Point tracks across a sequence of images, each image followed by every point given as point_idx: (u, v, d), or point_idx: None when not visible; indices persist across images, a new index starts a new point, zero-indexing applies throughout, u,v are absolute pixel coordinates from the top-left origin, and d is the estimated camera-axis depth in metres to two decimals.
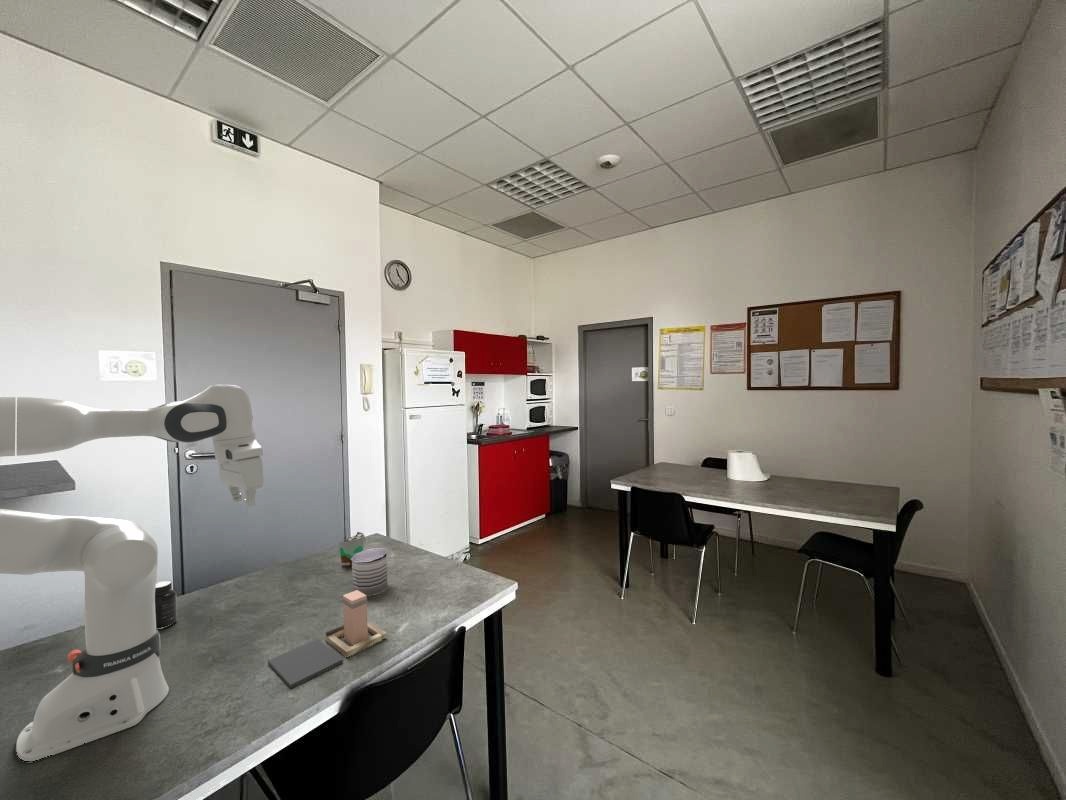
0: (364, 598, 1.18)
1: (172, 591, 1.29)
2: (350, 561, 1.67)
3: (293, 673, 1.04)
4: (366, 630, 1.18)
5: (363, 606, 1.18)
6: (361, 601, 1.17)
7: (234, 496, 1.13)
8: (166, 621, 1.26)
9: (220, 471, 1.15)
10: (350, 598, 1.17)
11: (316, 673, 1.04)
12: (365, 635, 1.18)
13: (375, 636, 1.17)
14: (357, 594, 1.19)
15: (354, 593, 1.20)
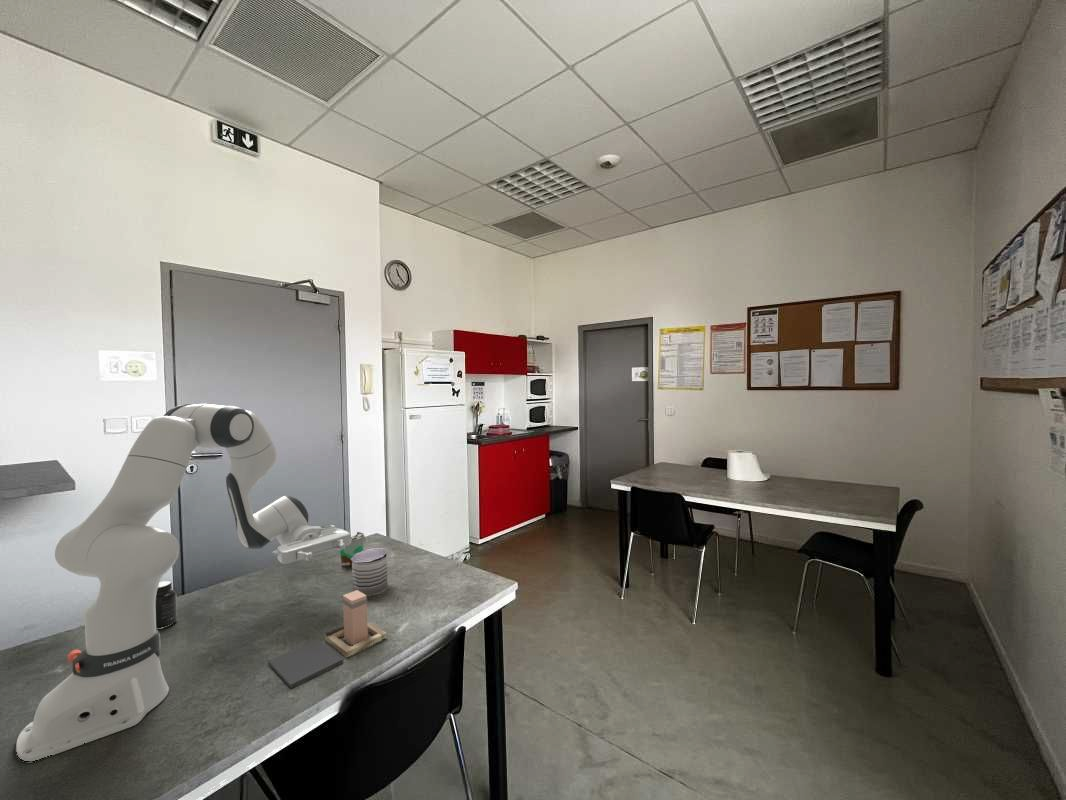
0: (364, 598, 1.18)
1: (172, 591, 1.29)
2: (350, 561, 1.67)
3: (293, 673, 1.04)
4: (366, 630, 1.18)
5: (363, 606, 1.18)
6: (361, 601, 1.17)
7: None
8: (166, 621, 1.26)
9: (285, 548, 1.28)
10: (350, 598, 1.17)
11: (316, 673, 1.04)
12: (365, 635, 1.18)
13: (375, 636, 1.17)
14: (357, 594, 1.19)
15: (354, 593, 1.20)
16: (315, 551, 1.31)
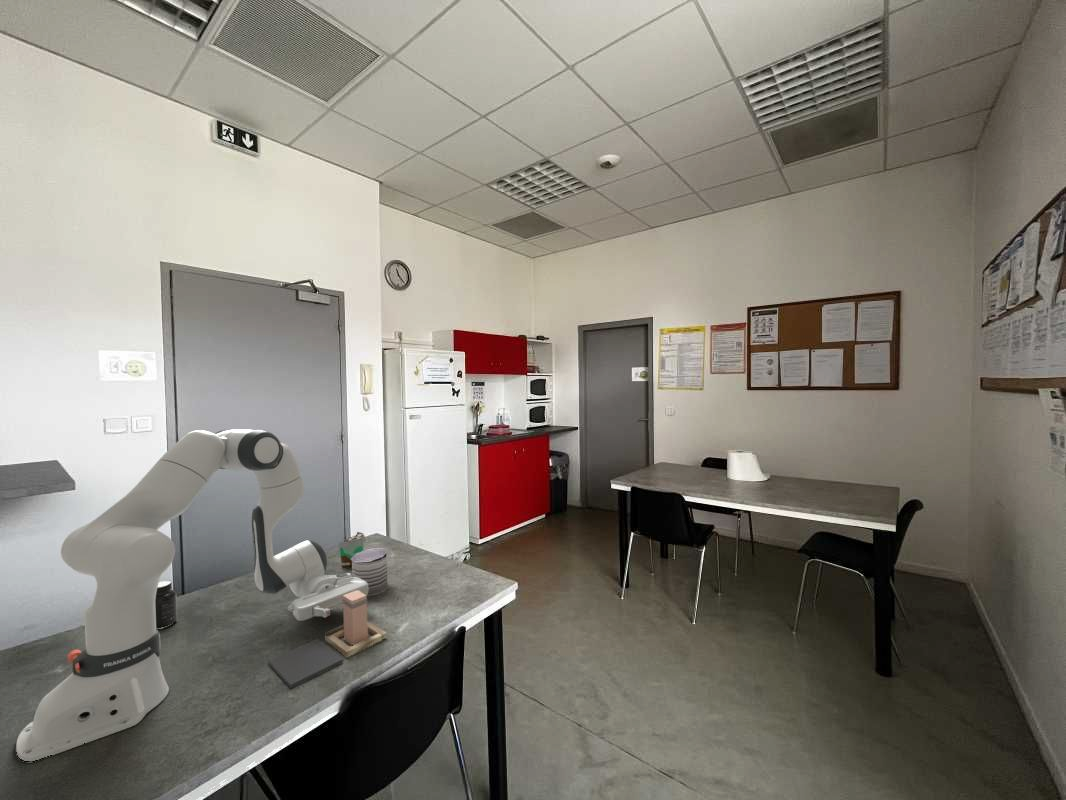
0: (364, 598, 1.18)
1: (172, 591, 1.29)
2: (350, 561, 1.67)
3: (293, 673, 1.04)
4: (366, 630, 1.18)
5: (363, 606, 1.18)
6: (361, 601, 1.17)
7: None
8: (166, 621, 1.26)
9: (301, 603, 1.21)
10: (350, 598, 1.17)
11: (316, 673, 1.04)
12: (365, 635, 1.18)
13: (375, 636, 1.17)
14: (357, 594, 1.19)
15: (354, 593, 1.20)
16: (332, 605, 1.25)
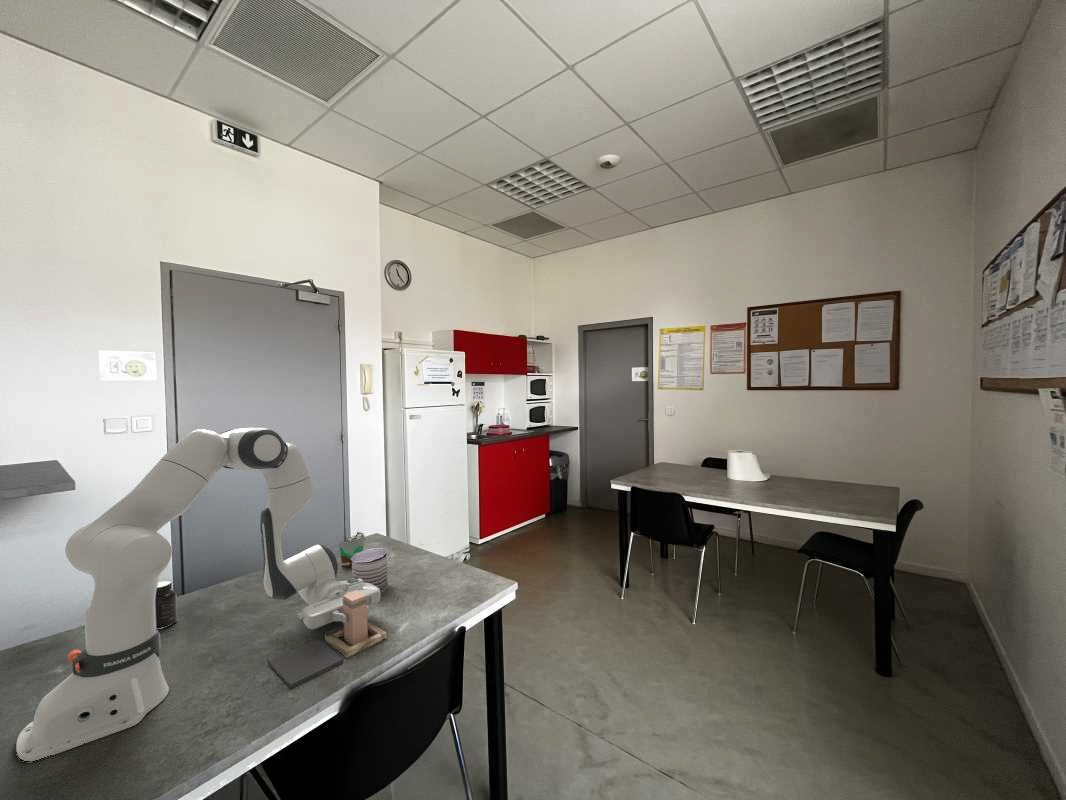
0: (364, 598, 1.18)
1: (172, 591, 1.29)
2: (350, 561, 1.67)
3: (293, 673, 1.04)
4: (366, 630, 1.18)
5: (363, 606, 1.18)
6: (361, 601, 1.17)
7: None
8: (166, 621, 1.26)
9: (312, 610, 1.17)
10: (350, 598, 1.17)
11: (316, 673, 1.04)
12: (365, 635, 1.18)
13: (375, 636, 1.17)
14: (357, 594, 1.19)
15: (354, 593, 1.19)
16: None
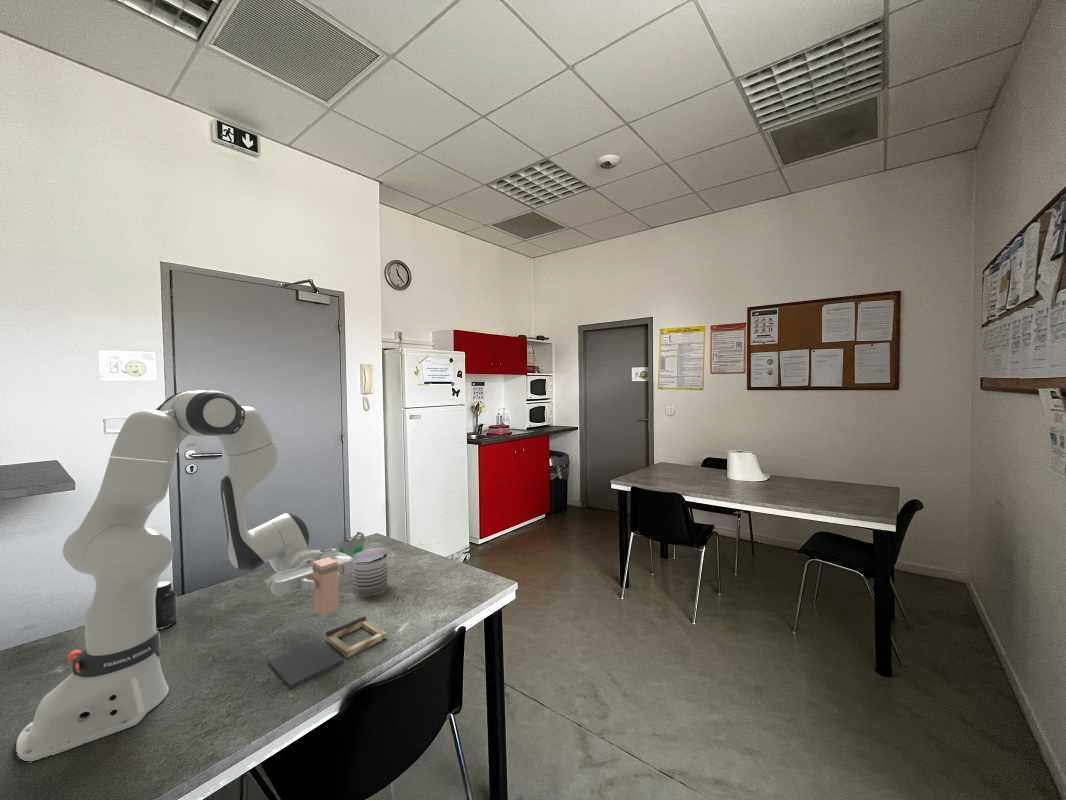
0: (335, 564, 1.12)
1: (172, 591, 1.29)
2: None
3: (293, 673, 1.04)
4: (336, 599, 1.12)
5: (334, 573, 1.11)
6: (331, 568, 1.11)
7: None
8: (166, 621, 1.26)
9: (279, 577, 1.11)
10: (320, 564, 1.11)
11: (316, 673, 1.04)
12: (335, 603, 1.12)
13: (375, 636, 1.17)
14: (328, 560, 1.13)
15: (325, 560, 1.13)
16: None
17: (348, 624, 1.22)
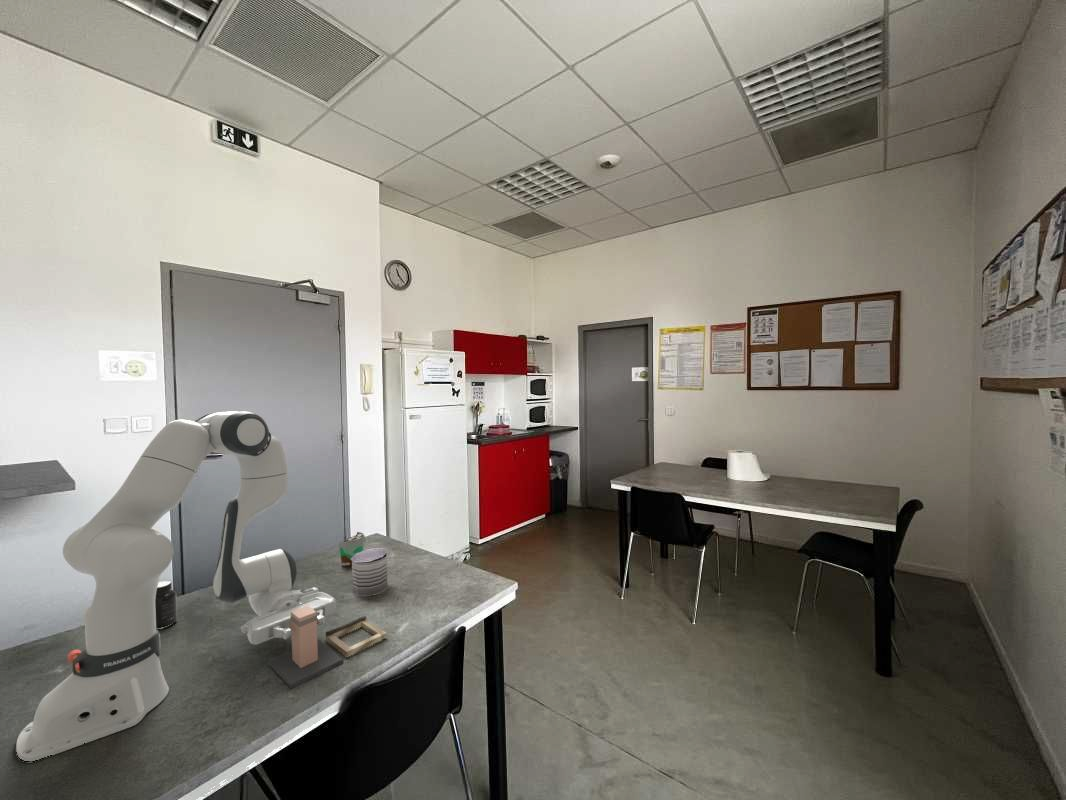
0: (314, 615, 1.08)
1: (172, 591, 1.29)
2: (350, 561, 1.67)
3: (293, 673, 1.04)
4: (315, 650, 1.08)
5: (312, 623, 1.08)
6: (309, 619, 1.07)
7: None
8: (166, 621, 1.26)
9: (256, 623, 1.07)
10: (298, 615, 1.07)
11: (316, 673, 1.04)
12: (314, 655, 1.08)
13: (375, 636, 1.17)
14: (306, 610, 1.09)
15: (303, 609, 1.10)
16: None
17: (348, 624, 1.22)
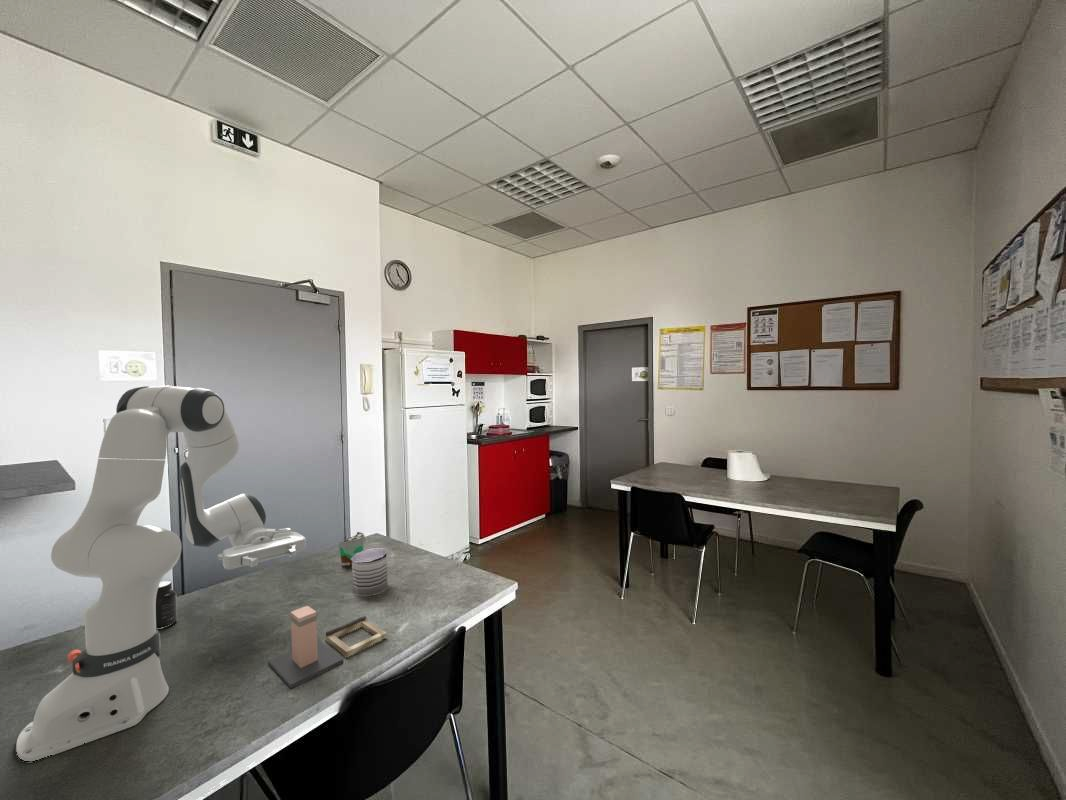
0: (313, 615, 1.08)
1: (172, 591, 1.29)
2: (350, 561, 1.67)
3: (293, 673, 1.04)
4: (315, 650, 1.08)
5: (312, 624, 1.08)
6: (309, 619, 1.07)
7: None
8: (166, 621, 1.26)
9: (231, 552, 1.18)
10: (297, 615, 1.07)
11: (316, 673, 1.04)
12: (314, 655, 1.08)
13: (375, 636, 1.17)
14: (306, 610, 1.09)
15: (303, 609, 1.10)
16: (264, 556, 1.22)
17: (348, 624, 1.22)
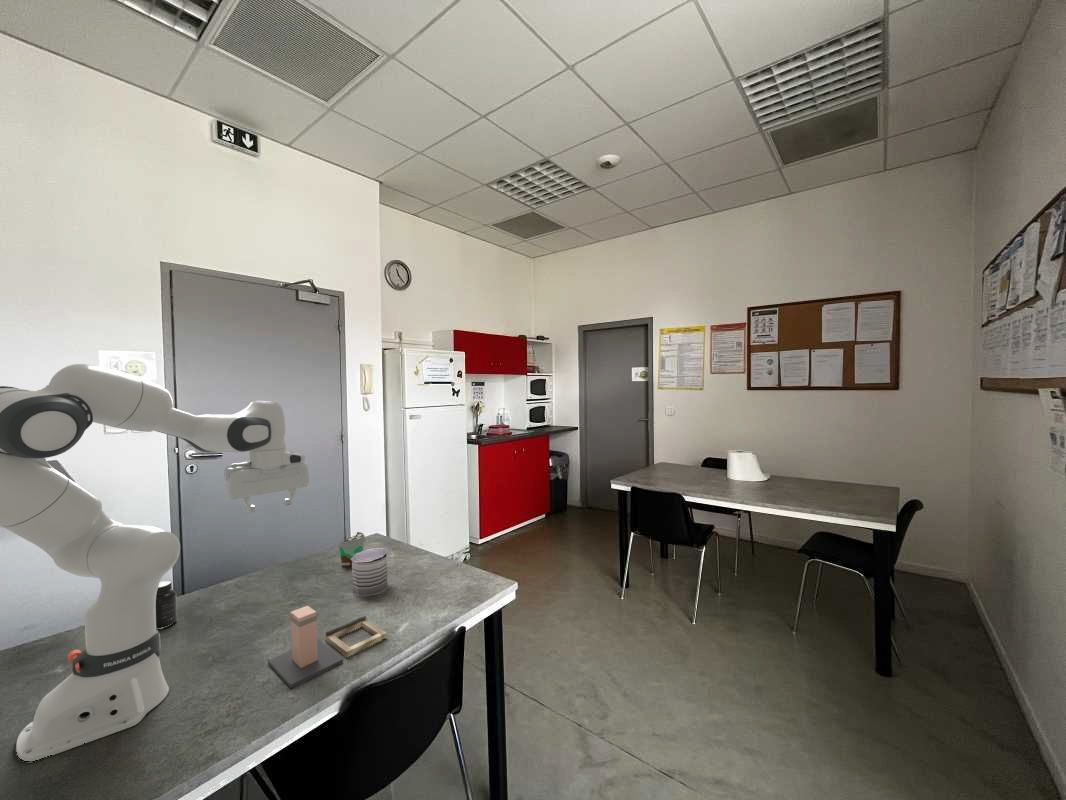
0: (313, 615, 1.08)
1: (172, 591, 1.29)
2: (350, 561, 1.67)
3: (293, 673, 1.04)
4: (315, 650, 1.08)
5: (312, 624, 1.08)
6: (309, 619, 1.07)
7: None
8: (166, 621, 1.26)
9: (237, 486, 1.16)
10: (297, 615, 1.07)
11: (316, 673, 1.04)
12: (314, 655, 1.08)
13: (375, 636, 1.17)
14: (306, 610, 1.09)
15: (303, 609, 1.10)
16: None
17: (348, 624, 1.22)
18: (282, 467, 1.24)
